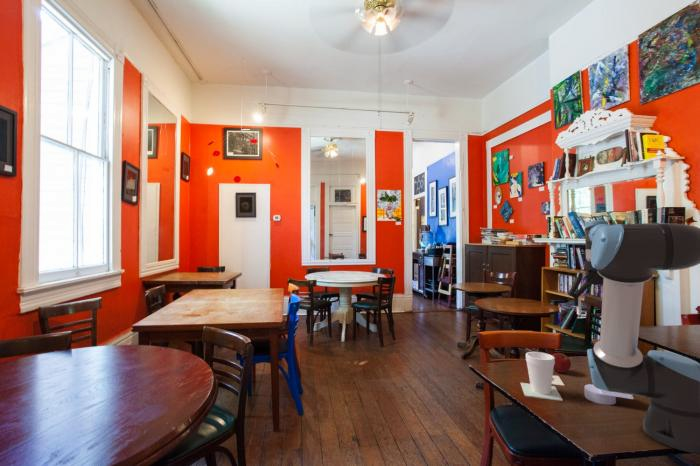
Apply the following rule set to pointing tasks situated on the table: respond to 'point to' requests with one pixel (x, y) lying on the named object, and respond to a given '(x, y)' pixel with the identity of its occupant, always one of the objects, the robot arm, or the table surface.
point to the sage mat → (552, 396)
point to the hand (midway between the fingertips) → (599, 315)
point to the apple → (561, 362)
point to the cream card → (557, 381)
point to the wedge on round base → (603, 395)
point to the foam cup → (540, 371)
